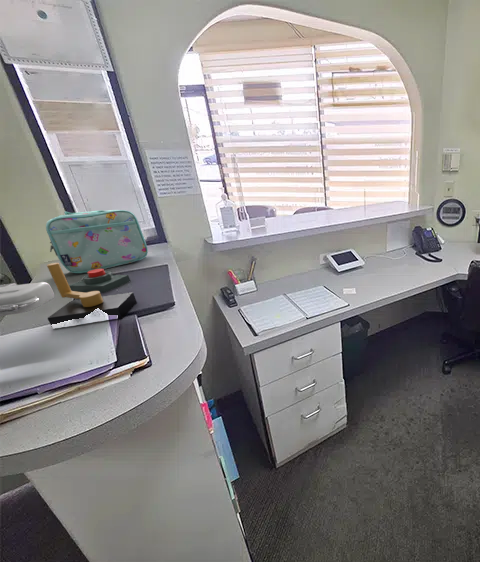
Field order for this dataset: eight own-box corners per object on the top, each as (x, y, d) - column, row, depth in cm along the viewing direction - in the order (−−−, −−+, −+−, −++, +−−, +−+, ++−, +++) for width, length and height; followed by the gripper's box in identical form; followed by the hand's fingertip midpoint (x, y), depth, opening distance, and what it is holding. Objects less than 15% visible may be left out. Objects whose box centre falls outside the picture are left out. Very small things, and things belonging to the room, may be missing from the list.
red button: (85, 278, 95) (83, 273, 95) (98, 273, 99) (95, 268, 98) (97, 278, 95) (95, 273, 94) (109, 273, 99) (107, 268, 98)
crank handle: (57, 303, 79) (39, 266, 76) (75, 296, 83) (59, 261, 79) (90, 308, 76) (73, 269, 72) (107, 301, 80) (92, 264, 76)
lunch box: (62, 279, 106) (33, 217, 98) (60, 272, 112) (33, 213, 104) (153, 259, 123) (135, 205, 115) (146, 255, 130) (129, 203, 122)
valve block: (53, 329, 73) (47, 318, 72) (76, 311, 82) (71, 300, 81) (122, 318, 77) (117, 307, 76) (137, 302, 86) (133, 292, 85)
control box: (71, 292, 95) (65, 280, 93) (98, 280, 103) (94, 269, 102) (105, 292, 93) (100, 280, 92) (130, 281, 102) (126, 269, 100)
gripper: (17, 291, 54) (63, 266, 66) (-148, 311, 48) (-65, 280, 61) (34, 322, 56) (75, 293, 69) (-122, 345, 51) (-47, 309, 63)
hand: (9, 287), depth 65 cm, fingers closed
